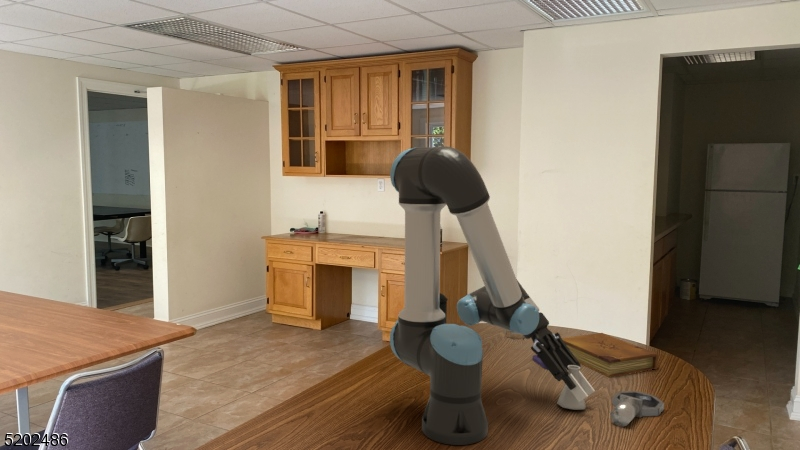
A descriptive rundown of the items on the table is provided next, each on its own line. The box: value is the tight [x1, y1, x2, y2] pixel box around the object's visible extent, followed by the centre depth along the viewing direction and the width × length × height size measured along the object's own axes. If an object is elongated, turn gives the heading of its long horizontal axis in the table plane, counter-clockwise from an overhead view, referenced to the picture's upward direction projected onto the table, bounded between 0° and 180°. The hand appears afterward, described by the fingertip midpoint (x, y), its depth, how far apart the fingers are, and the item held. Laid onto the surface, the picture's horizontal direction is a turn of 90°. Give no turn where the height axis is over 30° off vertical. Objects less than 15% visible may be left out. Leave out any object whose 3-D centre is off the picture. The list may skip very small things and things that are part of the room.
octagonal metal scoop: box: [610, 390, 665, 428], centre depth 144 cm, size 20×11×4 cm, turn 142°
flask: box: [556, 365, 587, 411], centre depth 146 cm, size 7×7×10 cm
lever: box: [532, 354, 549, 371], centre depth 178 cm, size 12×6×3 cm, turn 23°
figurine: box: [505, 330, 526, 340], centre depth 207 cm, size 7×7×12 cm
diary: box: [561, 332, 659, 378], centre depth 182 cm, size 23×19×6 cm
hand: (587, 396), depth 144 cm, fingers closed on flask, 4 cm apart
